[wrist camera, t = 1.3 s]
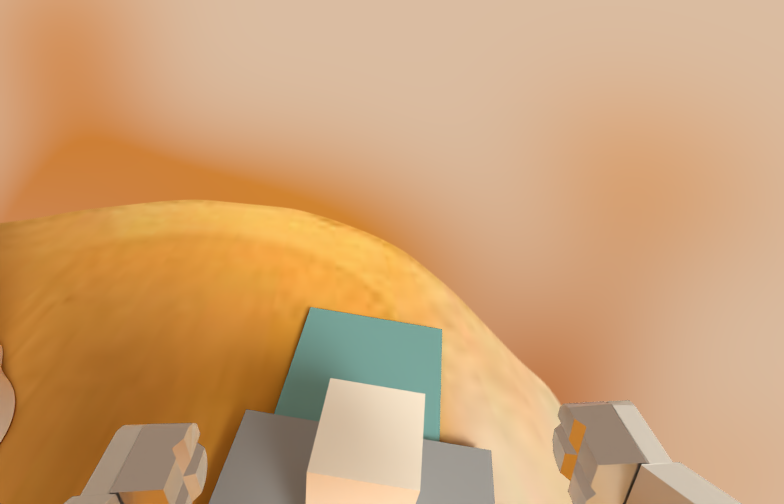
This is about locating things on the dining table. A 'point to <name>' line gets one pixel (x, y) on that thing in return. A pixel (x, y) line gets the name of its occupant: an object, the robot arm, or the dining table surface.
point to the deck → (292, 455)
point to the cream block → (367, 446)
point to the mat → (363, 362)
